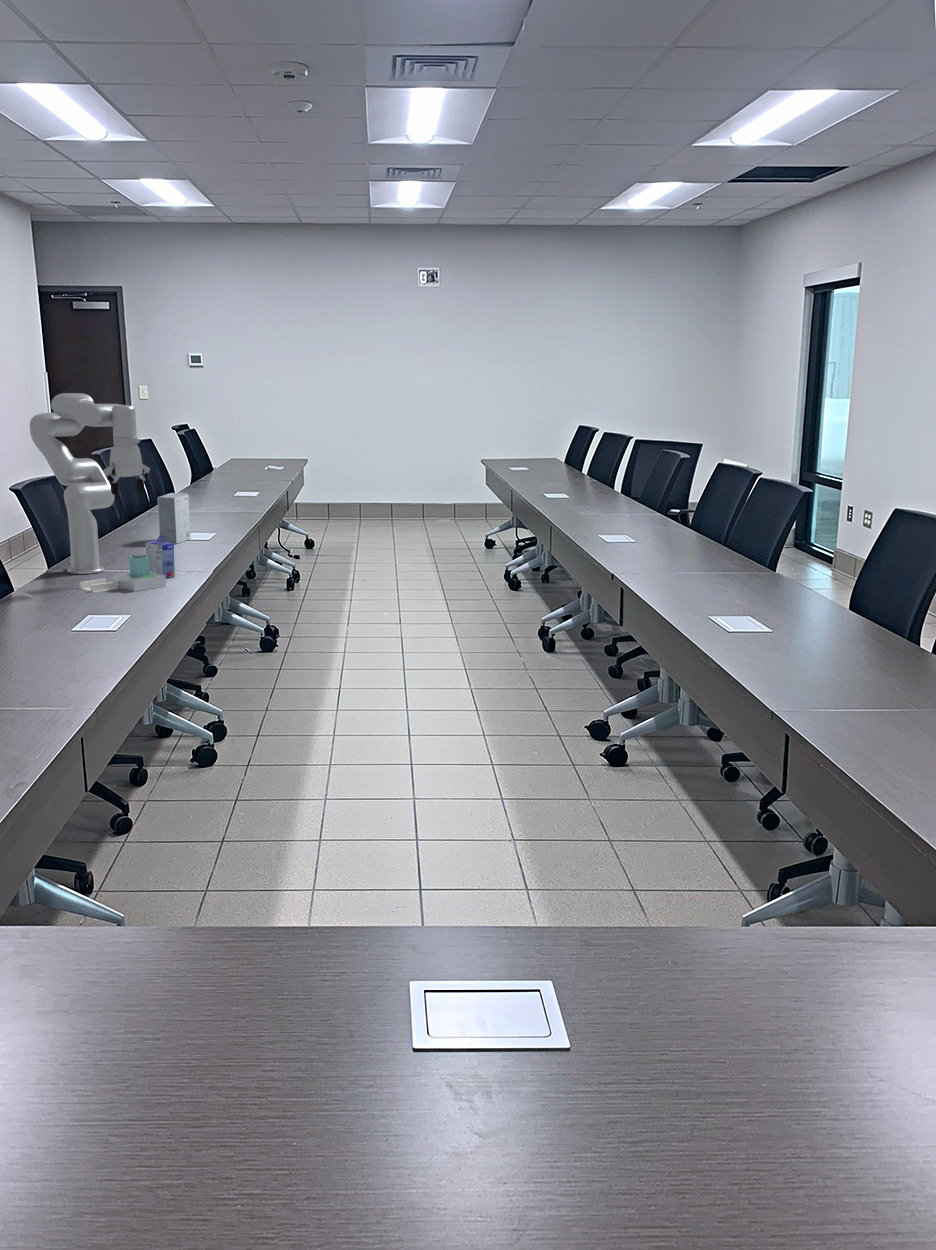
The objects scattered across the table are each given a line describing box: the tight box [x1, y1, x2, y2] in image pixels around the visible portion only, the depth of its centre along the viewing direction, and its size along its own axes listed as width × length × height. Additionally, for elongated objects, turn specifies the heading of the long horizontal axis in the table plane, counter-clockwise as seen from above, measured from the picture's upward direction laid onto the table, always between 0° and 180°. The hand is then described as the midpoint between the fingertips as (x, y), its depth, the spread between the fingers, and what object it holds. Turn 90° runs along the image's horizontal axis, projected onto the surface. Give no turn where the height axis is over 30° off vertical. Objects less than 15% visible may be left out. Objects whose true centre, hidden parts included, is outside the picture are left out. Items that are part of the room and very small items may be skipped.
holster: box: [78, 578, 120, 593], centre depth 346 cm, size 10×9×3 cm
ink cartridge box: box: [145, 534, 176, 579], centre depth 371 cm, size 10×6×14 cm, turn 53°
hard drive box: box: [157, 492, 192, 545], centre depth 447 cm, size 16×8×20 cm, turn 172°
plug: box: [129, 553, 150, 577], centre depth 349 cm, size 4×4×11 cm
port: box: [113, 571, 167, 592], centre depth 350 cm, size 12×12×6 cm
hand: (128, 493), depth 356 cm, fingers open, 9 cm apart
